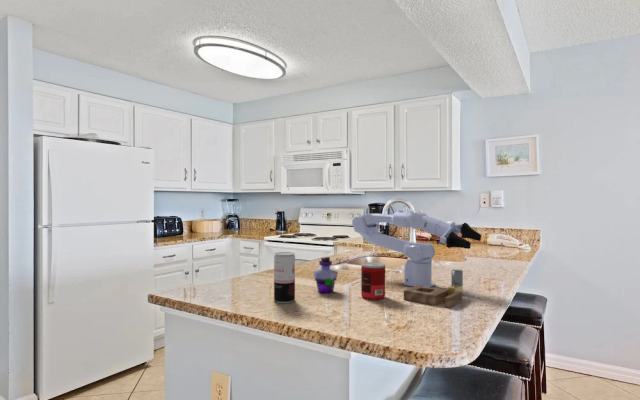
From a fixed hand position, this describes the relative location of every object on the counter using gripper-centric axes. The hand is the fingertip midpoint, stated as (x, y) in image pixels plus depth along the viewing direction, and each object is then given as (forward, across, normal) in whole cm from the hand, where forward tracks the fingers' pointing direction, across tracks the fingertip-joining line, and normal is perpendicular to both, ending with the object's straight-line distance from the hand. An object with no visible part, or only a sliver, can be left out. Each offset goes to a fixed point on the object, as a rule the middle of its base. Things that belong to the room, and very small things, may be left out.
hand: (475, 241), depth 133 cm
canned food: (-17, -33, +15) cm, 40 cm away
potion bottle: (-33, -39, +18) cm, 54 cm away
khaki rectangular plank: (+3, -15, +14) cm, 21 cm away
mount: (-2, -22, +13) cm, 26 cm away
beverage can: (-34, -56, +12) cm, 67 cm away
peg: (0, -8, +17) cm, 19 cm away
